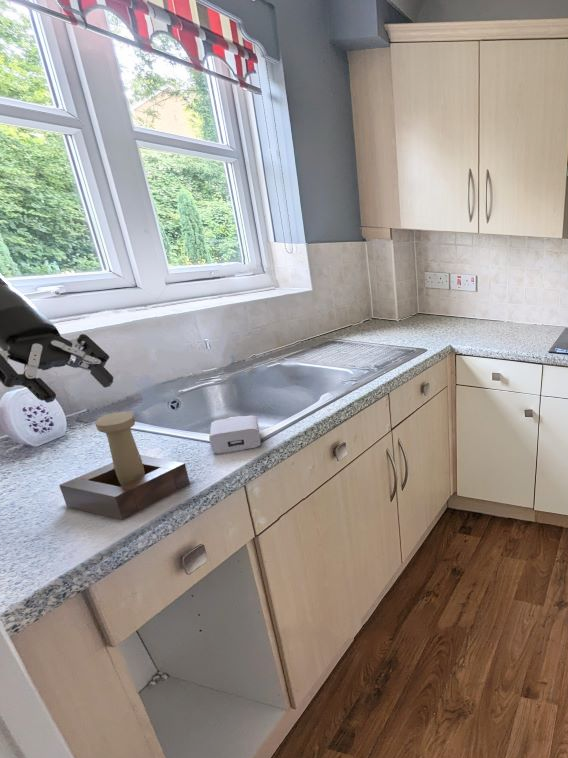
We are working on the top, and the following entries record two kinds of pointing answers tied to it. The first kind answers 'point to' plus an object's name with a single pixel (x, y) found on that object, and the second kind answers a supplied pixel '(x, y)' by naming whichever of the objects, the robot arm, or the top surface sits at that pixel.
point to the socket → (124, 488)
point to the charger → (234, 434)
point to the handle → (122, 445)
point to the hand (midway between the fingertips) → (82, 391)
